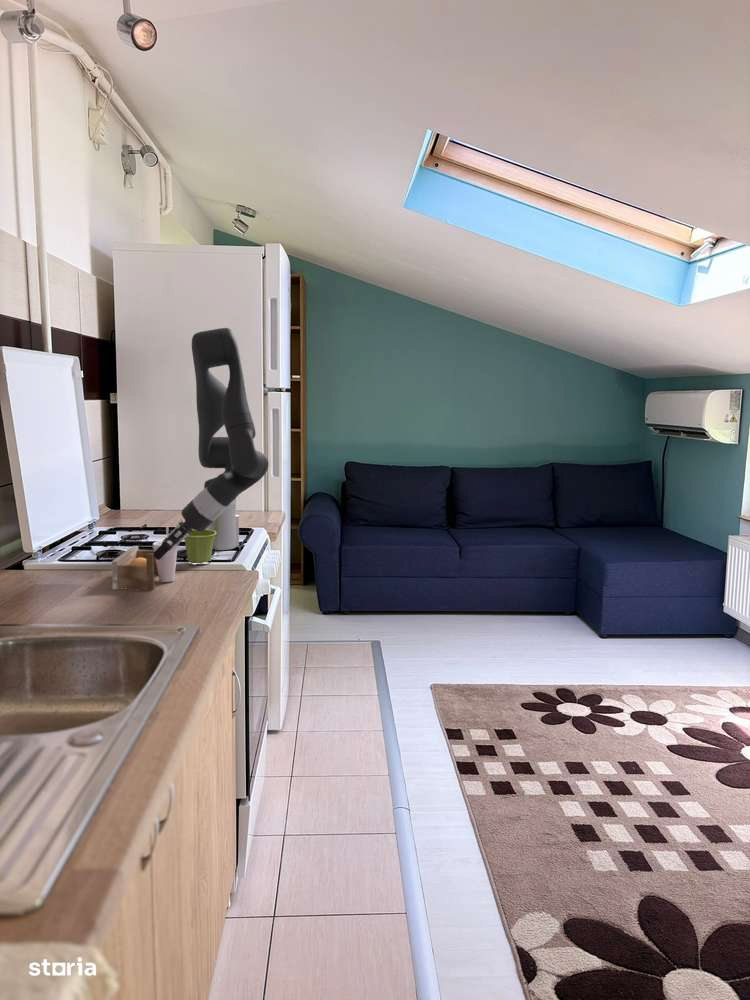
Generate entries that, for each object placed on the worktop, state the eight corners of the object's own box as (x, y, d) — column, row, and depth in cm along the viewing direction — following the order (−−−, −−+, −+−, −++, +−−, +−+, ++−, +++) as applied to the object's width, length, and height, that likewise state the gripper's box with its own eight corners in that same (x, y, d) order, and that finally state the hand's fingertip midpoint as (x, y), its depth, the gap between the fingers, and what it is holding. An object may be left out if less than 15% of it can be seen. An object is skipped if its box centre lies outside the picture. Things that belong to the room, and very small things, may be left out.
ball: (151, 556, 210) (139, 575, 211) (131, 550, 205) (120, 570, 206) (160, 568, 206) (148, 587, 207) (140, 563, 201) (128, 583, 202)
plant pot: (223, 561, 228) (223, 531, 226) (203, 568, 219) (202, 537, 218) (196, 557, 232) (195, 527, 230) (175, 564, 223) (174, 533, 222)
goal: (171, 572, 215) (170, 539, 213) (153, 590, 198) (152, 554, 197) (134, 571, 215) (133, 538, 214) (112, 589, 198) (111, 553, 197)
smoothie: (172, 584, 203) (171, 529, 200) (149, 582, 204) (147, 528, 202) (183, 577, 209) (182, 524, 207) (160, 576, 210) (159, 523, 208)
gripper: (200, 493, 210) (156, 537, 212) (186, 503, 196) (139, 550, 198) (221, 514, 211) (177, 557, 213) (209, 525, 197) (162, 571, 199)
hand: (159, 553), depth 205 cm, fingers closed on smoothie, 6 cm apart
